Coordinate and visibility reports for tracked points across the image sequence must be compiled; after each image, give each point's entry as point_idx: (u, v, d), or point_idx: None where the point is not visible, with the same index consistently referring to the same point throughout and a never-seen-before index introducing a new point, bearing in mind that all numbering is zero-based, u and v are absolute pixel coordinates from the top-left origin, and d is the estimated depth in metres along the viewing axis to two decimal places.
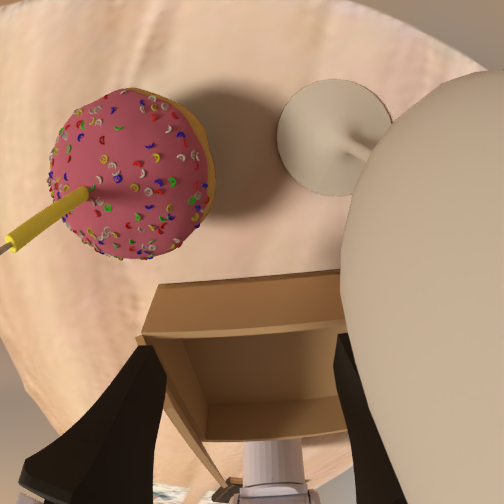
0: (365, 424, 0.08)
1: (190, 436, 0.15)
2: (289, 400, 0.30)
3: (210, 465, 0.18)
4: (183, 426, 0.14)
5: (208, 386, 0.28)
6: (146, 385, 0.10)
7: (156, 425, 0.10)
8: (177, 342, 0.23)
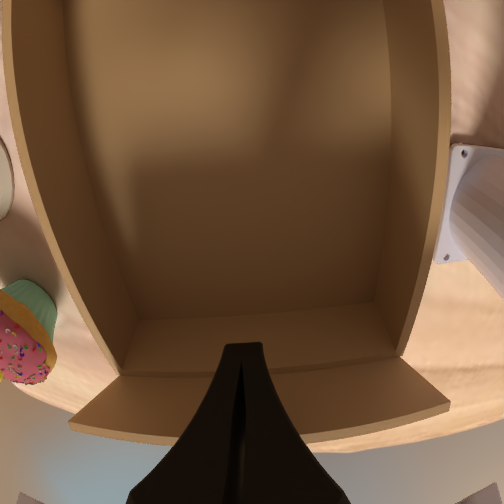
0: None
1: (136, 435, 0.10)
2: (387, 172, 0.14)
3: None
4: (107, 431, 0.10)
5: (318, 299, 0.19)
6: (242, 385, 0.10)
7: (246, 427, 0.10)
8: (192, 329, 0.19)
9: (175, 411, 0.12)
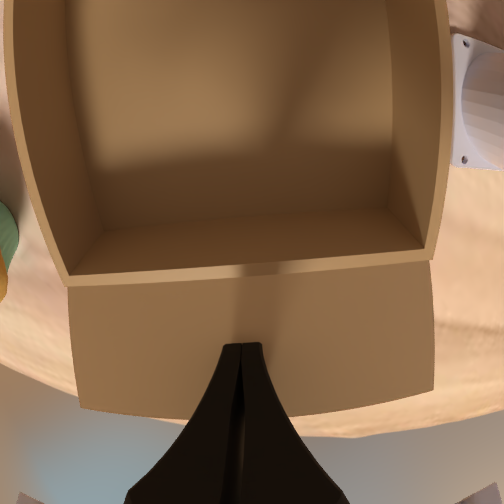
0: None
1: (146, 416, 0.12)
2: (387, 45, 0.11)
3: None
4: (118, 413, 0.12)
5: (320, 196, 0.15)
6: (241, 385, 0.10)
7: (244, 427, 0.10)
8: (163, 233, 0.15)
9: (163, 373, 0.12)
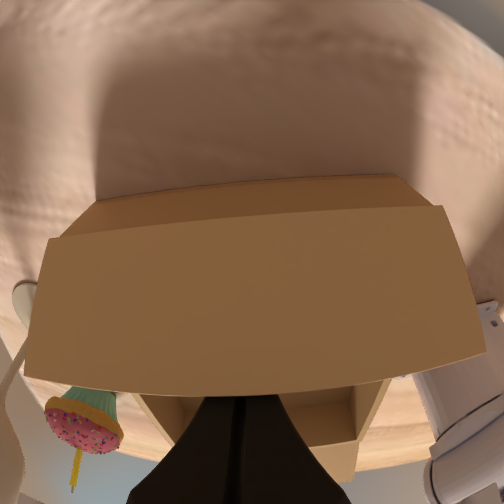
0: None
1: None
2: None
3: None
4: None
5: (309, 402, 0.26)
6: None
7: (246, 427, 0.10)
8: None
9: None
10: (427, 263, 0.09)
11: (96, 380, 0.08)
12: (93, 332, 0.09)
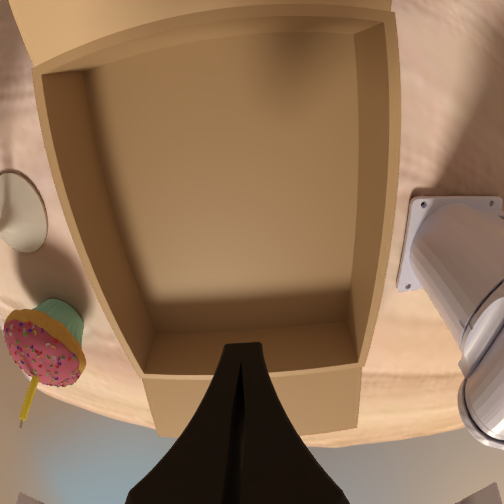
0: None
1: None
2: (353, 224, 0.19)
3: None
4: None
5: (299, 319, 0.23)
6: (242, 385, 0.10)
7: None
8: (199, 341, 0.23)
9: None
10: None
11: None
12: None
